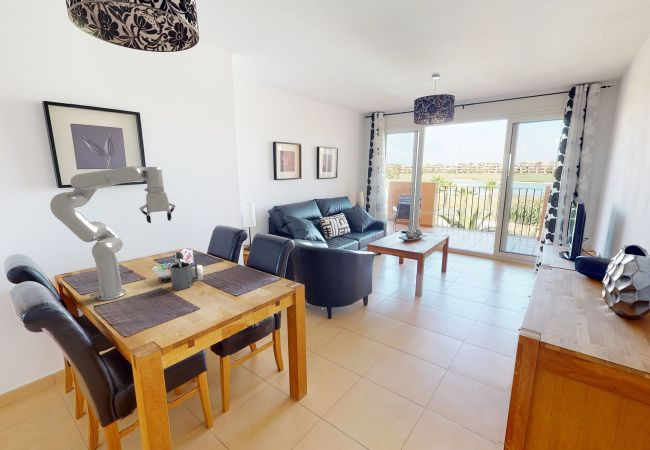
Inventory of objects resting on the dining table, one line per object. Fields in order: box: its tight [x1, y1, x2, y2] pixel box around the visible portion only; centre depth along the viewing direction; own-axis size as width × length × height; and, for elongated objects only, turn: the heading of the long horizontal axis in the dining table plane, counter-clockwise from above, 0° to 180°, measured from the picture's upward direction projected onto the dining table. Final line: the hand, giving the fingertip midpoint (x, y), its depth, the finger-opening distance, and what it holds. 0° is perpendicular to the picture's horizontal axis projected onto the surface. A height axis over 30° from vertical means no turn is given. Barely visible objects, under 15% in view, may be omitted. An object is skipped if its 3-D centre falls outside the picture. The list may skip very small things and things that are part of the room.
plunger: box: [174, 251, 185, 268], centre depth 167 cm, size 8×8×20 cm
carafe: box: [169, 263, 198, 291], centre depth 169 cm, size 14×10×13 cm
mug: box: [191, 264, 204, 282], centre depth 181 cm, size 7×9×8 cm
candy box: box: [173, 248, 195, 265], centre depth 186 cm, size 14×6×16 cm, turn 179°
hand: (159, 221), depth 156 cm, fingers open, 9 cm apart
